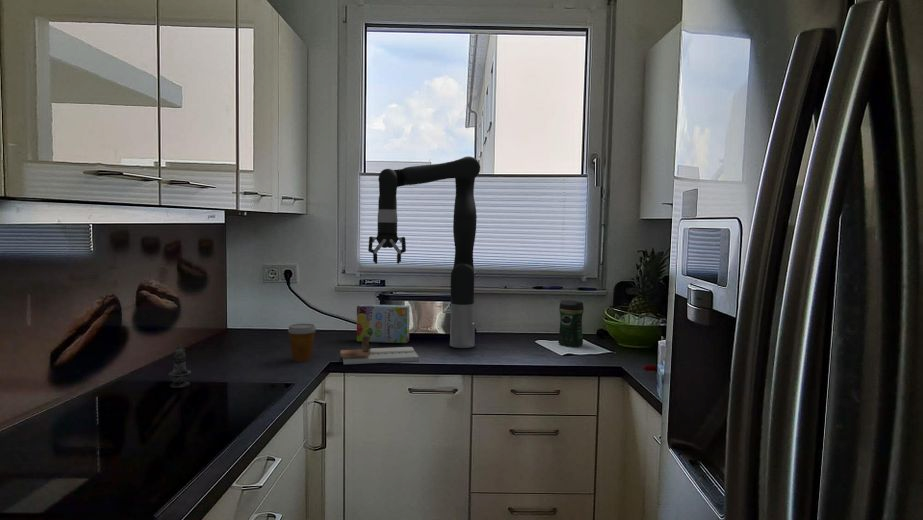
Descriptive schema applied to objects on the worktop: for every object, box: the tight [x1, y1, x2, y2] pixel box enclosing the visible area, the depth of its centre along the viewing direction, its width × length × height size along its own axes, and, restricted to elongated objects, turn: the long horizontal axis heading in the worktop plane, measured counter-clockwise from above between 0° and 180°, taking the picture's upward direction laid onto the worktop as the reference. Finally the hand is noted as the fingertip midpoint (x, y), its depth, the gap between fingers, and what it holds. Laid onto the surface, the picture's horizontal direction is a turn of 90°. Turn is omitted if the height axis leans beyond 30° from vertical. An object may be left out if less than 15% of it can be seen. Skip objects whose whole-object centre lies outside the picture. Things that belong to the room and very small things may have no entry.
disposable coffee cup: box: [287, 323, 317, 363], centre depth 182 cm, size 10×10×12 cm
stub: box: [339, 334, 370, 358], centre depth 181 cm, size 10×5×6 cm, turn 105°
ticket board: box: [342, 346, 420, 365], centre depth 187 cm, size 26×13×2 cm, turn 105°
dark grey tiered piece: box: [168, 343, 192, 389], centre depth 151 cm, size 6×6×12 cm
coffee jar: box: [557, 299, 585, 348], centre depth 214 cm, size 10×8×19 cm
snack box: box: [356, 303, 410, 344], centre depth 214 cm, size 21×6×15 cm, turn 84°
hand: (387, 263), depth 201 cm, fingers open, 8 cm apart
